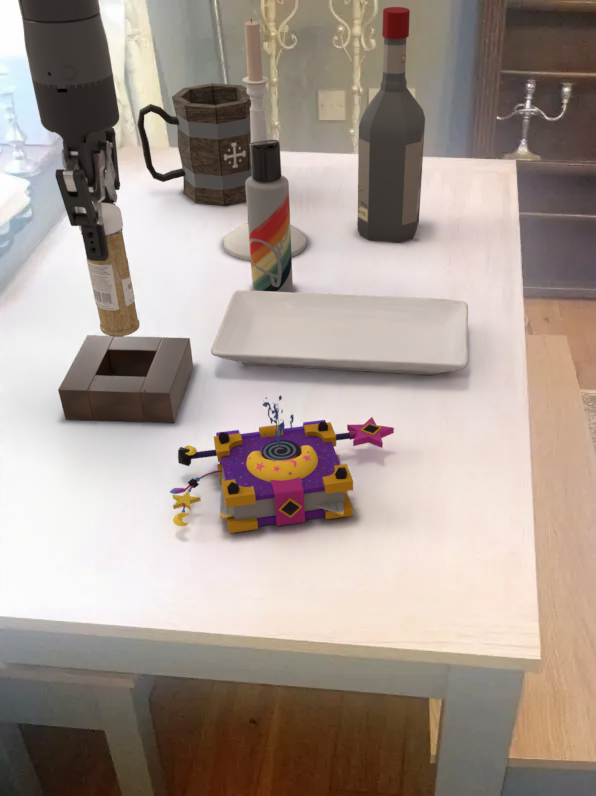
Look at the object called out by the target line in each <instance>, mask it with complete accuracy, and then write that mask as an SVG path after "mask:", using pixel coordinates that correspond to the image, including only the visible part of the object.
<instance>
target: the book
mask: <svg viewBox="0 0 596 796" xmlns="http://www.w3.org/2000/svg"><path fill="white" fill-rule="evenodd" d="M257 389H258V387H257ZM267 398H268V397H265V400H267ZM282 398H283V397H282V395H279V396H278V401H279V402H280V401H281V400H282ZM272 403H273V407H272V408H273V410H272V408H271V404H270V402H268V401H264V400H263V403H262V404H261V405H262V406H263V407H264V408H267V416H268V418H269V420H270V424H271V425H266V426H258V431H254V432H253V431H252V432H245V433H241V432H240V430H239V429H235V430H234V429H233V430H226V431H218V432H216V433H215V436H213V442H214V443H213V444H214V449H209V450H201V451H198V449H197V448H196V447H195V446H193V445H188V444H187V445H186V446H184V447H183V446H180V447H179V448H178V449H177V461H178V462H177V463H178V464H180V465H183V466H187V467H190V466H191V464H192V460H196V459H203V458H204V459H205V458H211V457H216V459H217V462H218V463H217V464H216V466H217V470H213V471H211V472H208V473H204V474H203V475H202V476H200V477H198V476H196V477H195V478H191V479H189V480H188V481H187V484H188V485H187V487H185V488H184V487H174V488H172V489H171V490H170V491H169V493H170V494H172V499H173V500H175V501H176V502H175V503H174V504H173V505H172V506H173V510H175V509H179V508H182V510H181V512H178V513H177V514H176V515H174V516H173V519H172V521H173V524H174V525H176V526H178V527H186V526H188V525H189V524H190V522H185V521H184V520H183V519H184V518H186V517H187V516H189V515H190V514H189V513H187V512H186V510H185V509H186V508H187V509H188V510H189V511H192V505H191V504H194V503H198V502H200V501H201V496H191V495H190V493H192V489H195V488H197V487H198V486H199V485H200V484H199V482H200V480H201V479H203V478H204V477H206V476H209V475H213V474H216V473H218V479H219V483H220V487H221V488H220V508H219V519H225V520H226V523H227V528H228V534H233V533H240V532H247V531H253V530H254V531H255V530H259V526H265V525H272V524H275V526H276V527H280V526H286V525H295V524H301V523H305V522H306V520H308V519H314V518H323V517H325V520H332V519H338V518H346V517H353V516H354V507H353V505H352V502H351V499H350V497H349V494H348V492H350V491H354V479H353V477H352V474H351V472H350V469H349V466H348V464H347V463H345V464H341V455H340V454H338V453H336V449H335V447H337V441H344V440H350V441H351V440H353V441H352V447H357V446H361V445H364V444H371V445H373V446H375V447H378V448H381V449H383V447H384V444H383V443H384V442H383V438H386V437H387V436H390V435H393V434H394V433H395V427H394V426H385V425H377V423H376V422H375V419H374V418H373V416H371V417H370V418H369V419H368V420H366V421H365V422H364V423H363V424H360V423H359V424H347V425H346V431H348V432H341V433H336V432H335V430H334V427H333V425H332V422H330V421H329V422H328V421H326V420H325V419H320V420H313V421H303V423H302V425H301V426H293V423H294V419H295V418H294V417H295V416H294V414H291V415H290V417H289V418H290V421H289V425H290V427H285V426H286V425H285V421H284V419H282V422H281V423H280V420H279V411H280V407H279V403H275V402H274V401H273V402H272ZM276 407H277V408H276ZM270 411H271V414H272V415H274V416H273V417H271V416H270ZM280 414H283V409H281V412H280ZM273 423H274V425H273ZM183 493H184V494H183ZM180 494H182V495H180Z"/></svg>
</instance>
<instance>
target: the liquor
mask: <svg viewBox="0 0 596 796" xmlns="http://www.w3.org/2000/svg"><path fill="white" fill-rule="evenodd" d="M410 12H411V11H410V9H409V8H407V7H403V6H389V7H385V8H383V9H382V26H381V27H382V30H381V31H382V32H381V35H382V38H383V56H382V57H383V60H382V77H381V78H382V80H381V83H380V89H379V90H378V91H377V93H376V94H375V95H374V96H373V98H372V99H371V101H370V102H369V103H368V105H367V106H366V108H365V109H364V111H363V114H362V116H361V118H360V121H359V124H358V149H357V151H358V152H357V153H358V157H357V159H358V160H357V161H358V163H357V164H358V165H357V228H356V229H357V232H358V234H359V236H361V237H362V238H364V239H366V240H368V241H370V242H382V243H383V242H385V243H397V244H399V243H400V244H401V243H404V242H407V241H410V240H413V239H414V237H415V236H416V233H417V231H418V230H417V229H418V226H419V222H420V214H421V213H420V210H421V196H422V195H421V193H422V179H423V178H422V177H423V163H424V162H423V161H424V143H425V141H424V140H425V128H426V116H425V113H424V109H423V108H422V106H421V105H420V104H419V103H418V101H417V99H416V98H415V97H414V95H413V94H412V92H411V91H410V90H409V89H408V86H407V85H408V84H407V83H408V82H407V81H408V80H407V78H406V66H407V65H406V64H407V62H406V61H407V38H409V37H410V17H411V14H410Z"/></svg>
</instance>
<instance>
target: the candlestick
mask: <svg viewBox="0 0 596 796" xmlns="http://www.w3.org/2000/svg"><path fill="white" fill-rule="evenodd" d="M260 27H261V26H260V22H259V21H253V18H251V19H250V21H246V22H244V36H245V51H246V54H245V55H246V67H247V69H246V70H247V76H245V77H243V78H242V82H243V83H244V84H245V85H246V88H247V90H246V92H247V94H248V95H249V96H250V100H251V107H250V125H251V143H253V142H260V141H266V140H268V133H267V125H266V124H267V123H266V113H265V107H264V103H263V99H264V95H265V94H266V87H265V86H266V83H267V82H268V81H269V78H268V77H267V76H263V63H262V46H261V45H262V44H261V28H260ZM290 230H291V255H292V257H295V256H297V255H298V254H300V253H302V252H303V251H304V250H305V248H306V247H307V236H306V235H305V233H304V232H303V231H302V230H300V229H299V228H298V227H296V226H295V225H292V224H290ZM223 247H224V250H225V252H227V254H229V256H233V257H235V258H237V259H239V260H244V261H249V262H251V257H250V243H249V229H248V222H246V223H245V222H244V223H243V224H241V225H238V226H236V227H234V228H233V229H231V230H230V231H229V232H228V233H227V235H225V237H224V239H223Z"/></svg>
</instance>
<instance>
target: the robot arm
mask: <svg viewBox="0 0 596 796" xmlns="http://www.w3.org/2000/svg"><path fill="white" fill-rule="evenodd" d="M17 2H18V7H19V11H20V16H21V23H22V30H23V31H22V32H23V43H24V50H25V54H26V59H27V63H28V69H29V74H30V78H31V82H32V87H33V91H34V97H35V100H36V101H35V102H36V105H37V111H38V115H39V119H40V123H41V125H42V127H43V128H44V129H45V130H46V131H48V132H50V133H55V134H56V135H58V136H59V137H60V138H61V139H62V150H61V160H62V167H63V168H57V169H55V175H54V176H55V180H56V184H57V186H58V190H59V192H60V196H61V199H62V201H63V205H64V208H65V211H66V215H67V217H68V221H69V224H70V226H71V227H79V226H81V231H82V234H81V236H82V241H83V247H84V251H85V255H86V258H88V259H89V260H91V261H106V260H107V258H108V256H109V252H108V246H107V241H106V235H105V230H104V225H103V217H102V207H101V203H110V204H114V205H116V203H117V200H118V194H117V191H120V189H121V188H120V187H121V182H120V172H119V162H118V150H117V141H116V136H117V134H116V131H115V128H114V127H115V126H116V125H117V124H118V123H119V121H120V110H119V105H118V104H119V103H118V98H117V91H116V86H115V79H114V72H113V66H112V59H111V54H110V47H109V42H108V37H107V33H106V30H105V26H104V22H103V19H102V14H101V7H100V2H99V0H17ZM83 208H85V210H86V212H83ZM81 231H80V232H81Z"/></svg>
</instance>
